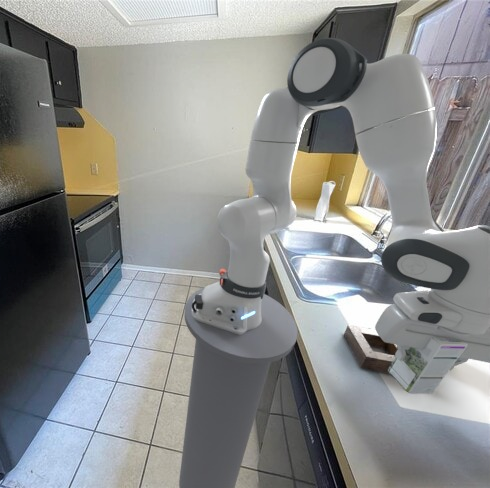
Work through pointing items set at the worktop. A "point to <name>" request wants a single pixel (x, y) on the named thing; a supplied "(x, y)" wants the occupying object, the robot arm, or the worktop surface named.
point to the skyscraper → (324, 202)
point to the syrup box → (427, 365)
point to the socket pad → (364, 354)
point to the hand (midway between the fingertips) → (421, 363)
